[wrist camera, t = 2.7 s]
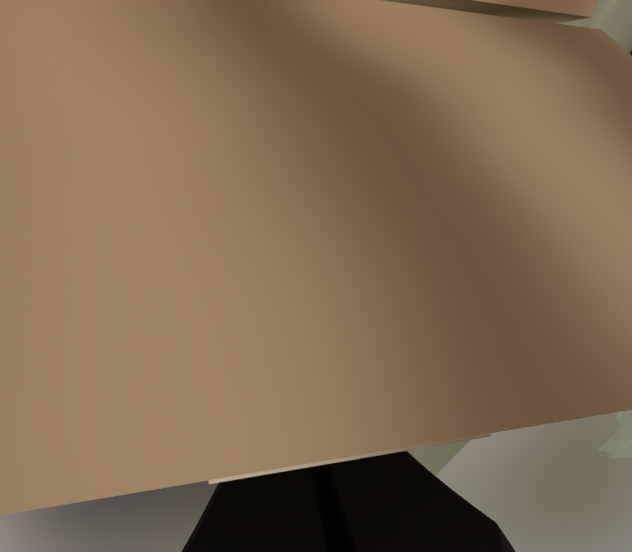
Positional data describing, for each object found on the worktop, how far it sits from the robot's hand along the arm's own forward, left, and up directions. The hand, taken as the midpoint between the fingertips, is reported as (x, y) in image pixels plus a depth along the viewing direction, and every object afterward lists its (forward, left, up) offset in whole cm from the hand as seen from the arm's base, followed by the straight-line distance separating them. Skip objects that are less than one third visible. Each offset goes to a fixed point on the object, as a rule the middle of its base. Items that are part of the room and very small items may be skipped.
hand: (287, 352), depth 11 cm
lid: (0, -7, +2) cm, 8 cm away
